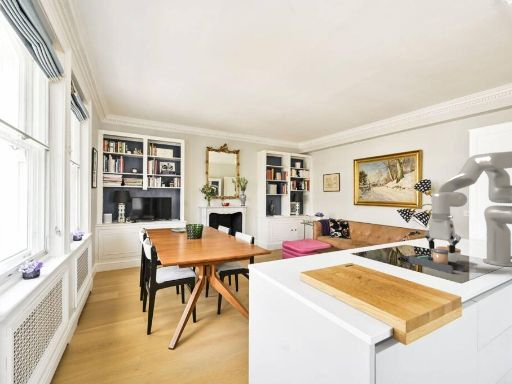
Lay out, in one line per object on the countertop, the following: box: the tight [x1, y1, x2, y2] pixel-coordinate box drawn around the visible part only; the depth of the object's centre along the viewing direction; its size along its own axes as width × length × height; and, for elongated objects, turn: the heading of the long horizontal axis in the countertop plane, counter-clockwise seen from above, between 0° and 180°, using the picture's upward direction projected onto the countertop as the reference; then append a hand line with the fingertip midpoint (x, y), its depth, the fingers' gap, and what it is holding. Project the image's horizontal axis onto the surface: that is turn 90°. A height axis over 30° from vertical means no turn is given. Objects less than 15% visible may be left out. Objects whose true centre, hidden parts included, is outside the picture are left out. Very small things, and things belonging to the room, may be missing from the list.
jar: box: [432, 248, 448, 265], centre depth 127 cm, size 6×6×9 cm
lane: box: [407, 253, 465, 275], centre depth 130 cm, size 10×22×4 cm, turn 22°
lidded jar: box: [435, 244, 462, 263], centre depth 138 cm, size 11×11×9 cm
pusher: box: [417, 255, 429, 260], centre depth 135 cm, size 7×1×4 cm, turn 112°
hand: (441, 250), depth 127 cm, fingers open, 9 cm apart
